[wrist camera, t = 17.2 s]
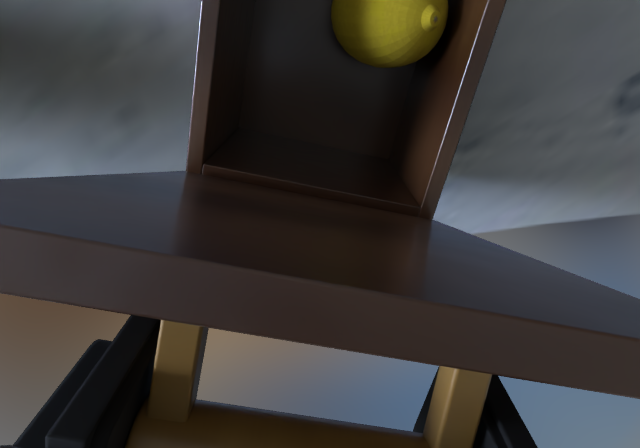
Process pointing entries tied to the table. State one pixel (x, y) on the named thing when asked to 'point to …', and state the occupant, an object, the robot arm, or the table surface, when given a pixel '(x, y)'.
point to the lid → (307, 299)
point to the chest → (331, 104)
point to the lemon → (388, 29)
